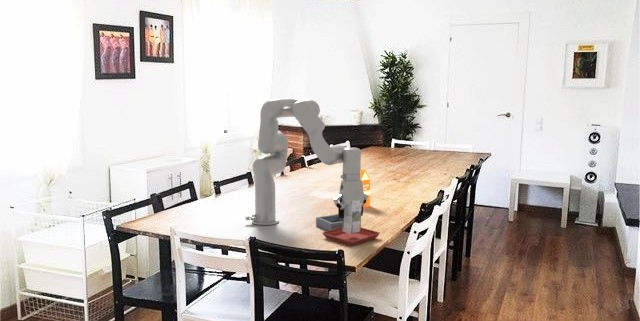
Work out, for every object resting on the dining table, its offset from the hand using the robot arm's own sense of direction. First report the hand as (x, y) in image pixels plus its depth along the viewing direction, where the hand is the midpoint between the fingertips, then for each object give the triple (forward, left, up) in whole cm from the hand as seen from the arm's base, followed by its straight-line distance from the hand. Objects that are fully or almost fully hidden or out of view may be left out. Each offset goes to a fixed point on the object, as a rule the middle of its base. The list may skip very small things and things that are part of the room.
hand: (350, 216), depth 231 cm
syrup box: (0, 0, -7) cm, 7 cm away
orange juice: (+39, +48, -10) cm, 63 cm away
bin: (+4, +18, -10) cm, 21 cm away
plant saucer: (0, -1, -10) cm, 10 cm away
